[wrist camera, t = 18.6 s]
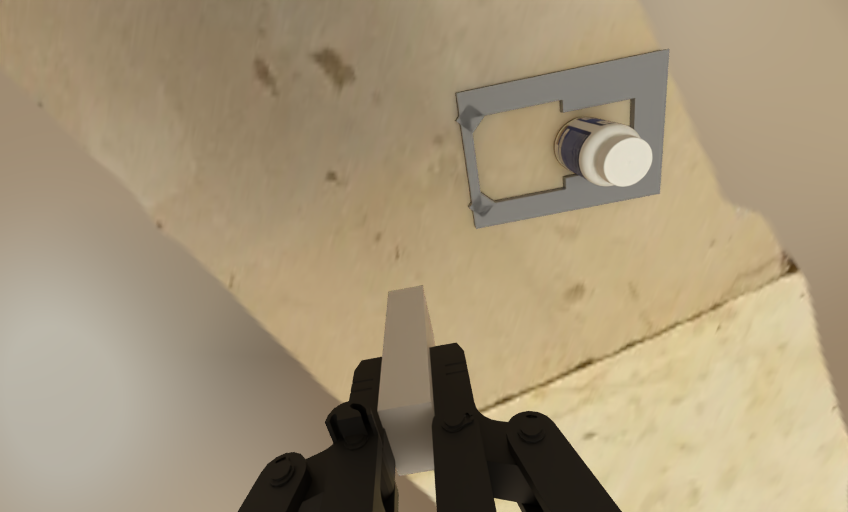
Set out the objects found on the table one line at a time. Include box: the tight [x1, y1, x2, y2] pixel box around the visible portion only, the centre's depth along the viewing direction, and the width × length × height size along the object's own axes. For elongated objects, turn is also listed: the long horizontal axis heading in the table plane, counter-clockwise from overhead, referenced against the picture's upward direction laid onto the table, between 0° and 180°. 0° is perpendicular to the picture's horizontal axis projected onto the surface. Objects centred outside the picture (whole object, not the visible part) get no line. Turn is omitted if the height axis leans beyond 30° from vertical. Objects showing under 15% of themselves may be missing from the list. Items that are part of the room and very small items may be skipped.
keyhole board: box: [455, 49, 669, 229], centre depth 40 cm, size 14×20×1 cm
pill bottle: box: [555, 117, 652, 187], centre depth 36 cm, size 5×5×10 cm
